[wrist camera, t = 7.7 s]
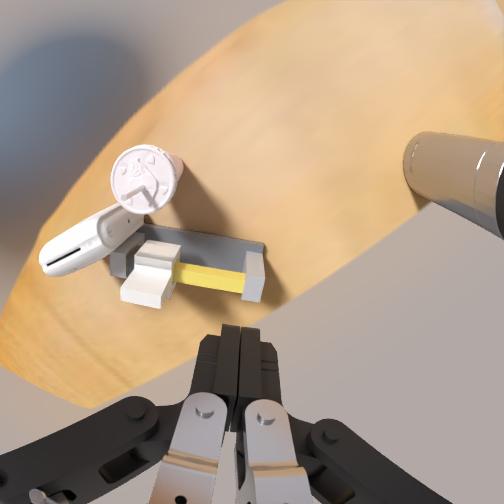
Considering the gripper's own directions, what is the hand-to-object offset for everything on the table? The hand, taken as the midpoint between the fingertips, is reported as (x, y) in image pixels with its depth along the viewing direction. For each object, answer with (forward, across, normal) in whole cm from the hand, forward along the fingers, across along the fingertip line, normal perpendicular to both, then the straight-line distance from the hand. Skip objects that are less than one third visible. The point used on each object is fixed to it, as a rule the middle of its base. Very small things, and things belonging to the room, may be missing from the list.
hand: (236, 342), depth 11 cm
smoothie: (+25, +10, -3) cm, 27 cm away
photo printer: (+25, +17, +5) cm, 31 cm away
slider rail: (+25, +6, +8) cm, 27 cm away
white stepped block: (+20, +9, +7) cm, 23 cm away
